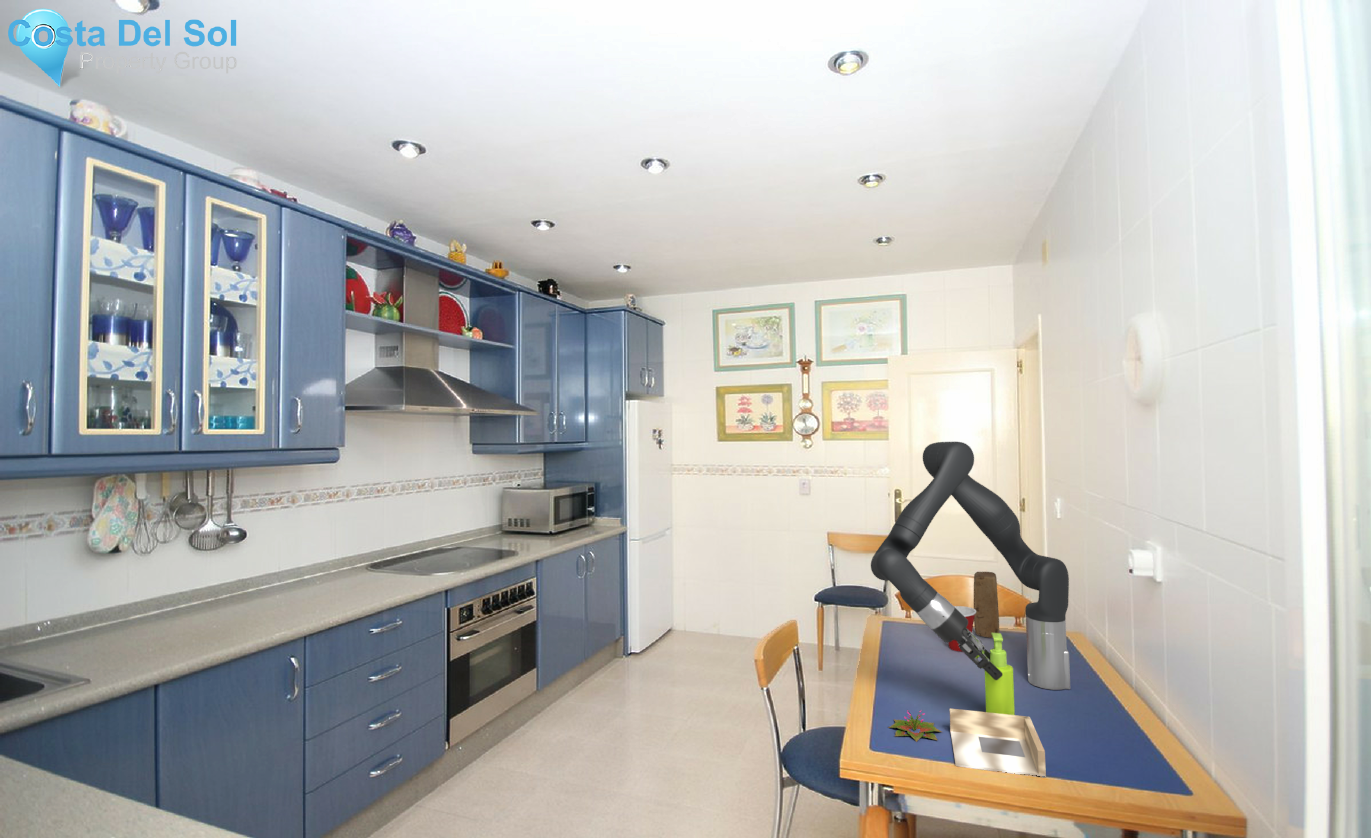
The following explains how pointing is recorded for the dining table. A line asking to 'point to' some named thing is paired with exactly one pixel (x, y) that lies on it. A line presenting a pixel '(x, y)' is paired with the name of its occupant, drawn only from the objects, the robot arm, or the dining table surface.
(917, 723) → the lily flower
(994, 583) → the block
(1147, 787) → the dining table surface
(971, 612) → the plastic cup
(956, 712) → the corner arena
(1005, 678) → the soap dispenser
